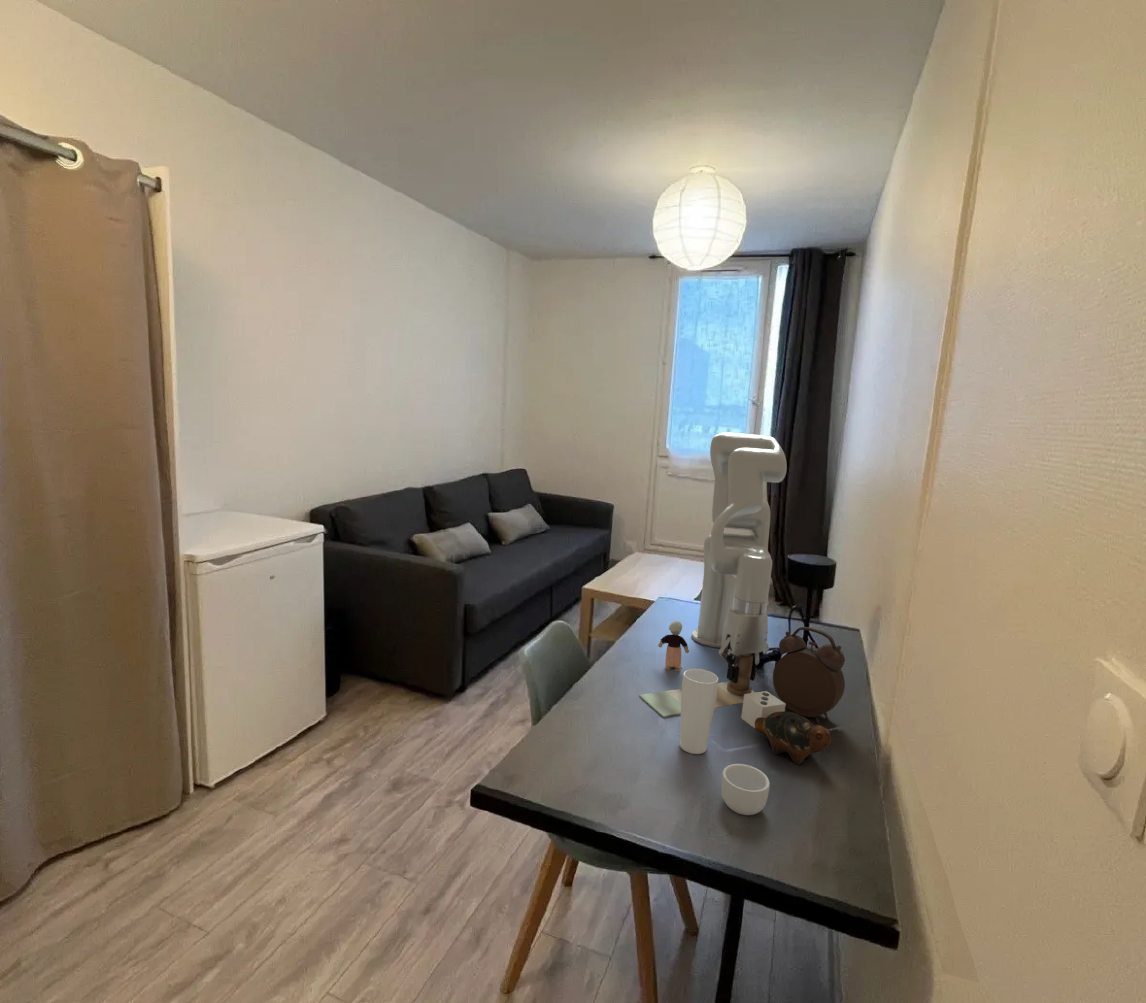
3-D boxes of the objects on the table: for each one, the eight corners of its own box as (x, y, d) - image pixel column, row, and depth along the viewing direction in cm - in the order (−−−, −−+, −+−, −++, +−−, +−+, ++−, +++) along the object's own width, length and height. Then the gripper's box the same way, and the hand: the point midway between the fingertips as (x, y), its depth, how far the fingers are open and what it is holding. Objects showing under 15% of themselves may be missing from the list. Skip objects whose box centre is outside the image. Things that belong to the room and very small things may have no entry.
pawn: (740, 683, 151) (746, 635, 149) (756, 694, 146) (762, 643, 144) (722, 686, 149) (728, 637, 147) (737, 697, 144) (743, 646, 142)
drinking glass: (689, 760, 117) (698, 685, 115) (668, 742, 123) (676, 670, 121) (717, 753, 120) (726, 680, 118) (695, 736, 126) (703, 666, 124)
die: (763, 716, 137) (766, 690, 136) (782, 730, 131) (785, 703, 130) (741, 720, 134) (744, 693, 133) (759, 734, 129) (762, 706, 128)
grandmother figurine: (685, 667, 160) (691, 620, 158) (687, 673, 156) (692, 625, 154) (655, 664, 160) (660, 617, 158) (656, 670, 157) (661, 622, 155)
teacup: (766, 827, 100) (771, 796, 99) (717, 815, 102) (721, 785, 101) (764, 791, 109) (768, 763, 108) (720, 781, 111) (723, 753, 110)
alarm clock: (842, 722, 137) (855, 635, 134) (830, 733, 132) (843, 643, 129) (779, 697, 147) (790, 616, 144) (765, 707, 141) (776, 622, 138)
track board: (736, 681, 153) (737, 680, 153) (764, 700, 145) (765, 698, 144) (639, 696, 142) (639, 694, 141) (663, 717, 133) (663, 716, 133)
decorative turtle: (821, 779, 114) (823, 738, 113) (743, 750, 124) (745, 713, 123) (838, 756, 122) (840, 718, 120) (764, 731, 131) (765, 695, 130)
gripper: (766, 598, 151) (757, 669, 154) (710, 602, 144) (701, 677, 147) (789, 608, 144) (778, 682, 147) (731, 613, 137) (721, 691, 140)
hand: (740, 678), depth 147 cm, fingers closed on pawn, 4 cm apart
